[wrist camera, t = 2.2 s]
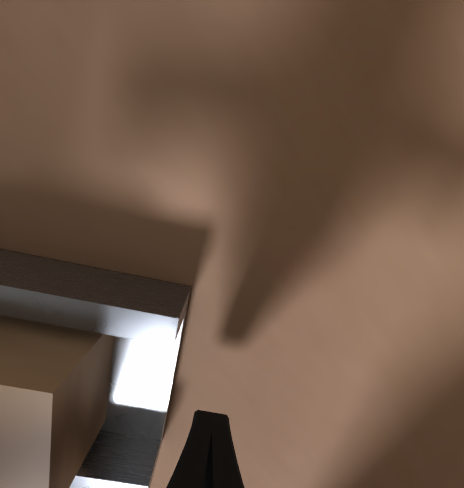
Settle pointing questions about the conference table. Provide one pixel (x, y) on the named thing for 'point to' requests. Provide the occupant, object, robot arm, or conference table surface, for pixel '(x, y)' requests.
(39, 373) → the walnut block
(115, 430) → the chute
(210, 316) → the conference table surface
